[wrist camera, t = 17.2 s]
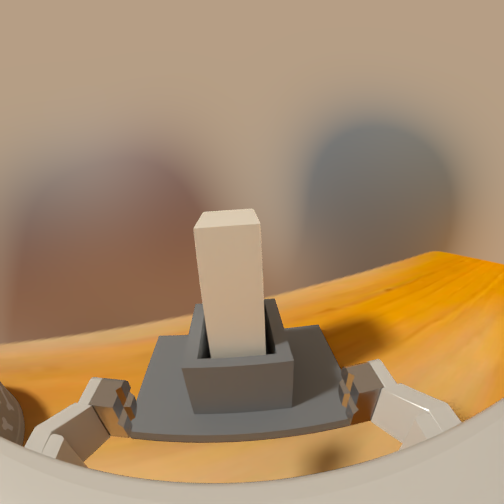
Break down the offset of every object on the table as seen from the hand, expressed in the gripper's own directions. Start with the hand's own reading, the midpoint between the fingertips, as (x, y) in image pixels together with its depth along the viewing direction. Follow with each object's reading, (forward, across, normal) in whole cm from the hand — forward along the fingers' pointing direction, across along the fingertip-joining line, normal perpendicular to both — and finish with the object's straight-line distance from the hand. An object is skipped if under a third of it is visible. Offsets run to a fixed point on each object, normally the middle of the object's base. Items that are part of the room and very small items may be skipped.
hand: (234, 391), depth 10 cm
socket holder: (+12, 0, +11) cm, 16 cm away
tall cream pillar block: (+12, 0, +10) cm, 16 cm away
